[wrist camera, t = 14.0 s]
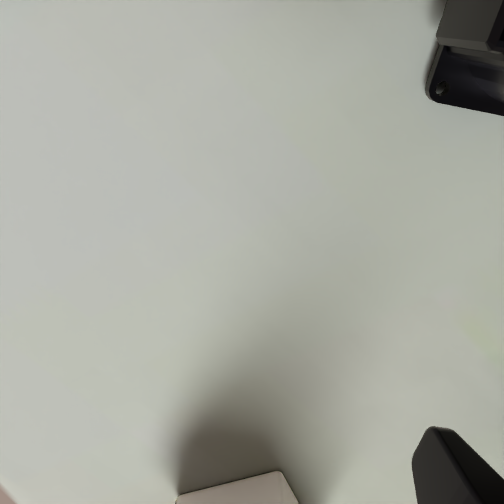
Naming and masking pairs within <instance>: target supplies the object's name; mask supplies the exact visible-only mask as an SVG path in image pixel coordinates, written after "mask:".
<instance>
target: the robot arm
mask: <svg viewBox="0 0 504 504" xmlns="http://www.w3.org/2000/svg"><path fill="white" fill-rule="evenodd" d="M436 38H437V40H438V43H439V44H440V45H439V48H438V51H437V54H436V57H435V60H434V63H433V66H432V68H431V71H430V74H429V77H428V80H427V83H426V87H425V92H426V95H427V97H428V98H429V99H431V100H433V101H435V102H437V103H442V104H447V105H452V106H457V107H462V108H466V109H471V110H476V111H481V112H486V113H491V114H496V115H501V116H504V0H447V3H446V6H445V9H444V12H443V15H442V18H441V21H440V24H439V27H438V30H437V33H436ZM442 81H445V84H446V88H445V90H444V91H443V92H442V93H441V94H437V93H436V86H437V85H438V83H440V82H442ZM412 472H413V478H414V484H415V490H416V496H417V503H418V504H504V479H503V478H502V477H501V476H500V475H499V474H498V473H497V472H496V471H495V470H494V469H493V468H492V467H491V466H490V465H489V464H488V463H487V462H486V461H485V460H484V459H483V458H481V457H480V456H479V455H478V454H477V453H476V452H475V451H474V450H473V449H472V448H471V447H470V446H469V445H468V444H467V443H466V442H465V441H464V440H463V439H462V438H461V437H460V436H459V435H458V434H457V433H456V432H455V431H453V430H452V429H449V428H442V427H435V426H432V427H429V428H428V429H427V430H426V431H425V433H424V435H423V437H422V439H421V441H420V443H419V445H418V446H417V448H416V450H415V452H414V454H413V458H412Z"/></svg>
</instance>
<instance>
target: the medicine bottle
mask: <svg viewBox="0 0 504 504" xmlns="http://www.w3.org/2000/svg"><path fill="white" fill-rule="evenodd" d="M175 504H299V503H298V501H297V499H296V497H295V495H294V494H293V492H292V490H291V488H290V487H289V485H288V483H287V481H286V479H285V478H284V476H283V474H282V473H281V472H279V471H274V472H270V473H266V474H262V475H258V476H254V477H250V478H246V479H242V480H238V481H234V482H230V483H226V484H222V485H218V486H214V487H210V488H206V489H202V490H198V491H194V492H190V493H186V494H182V495H180V496H178V497H177V499H176V503H175Z"/></svg>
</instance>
